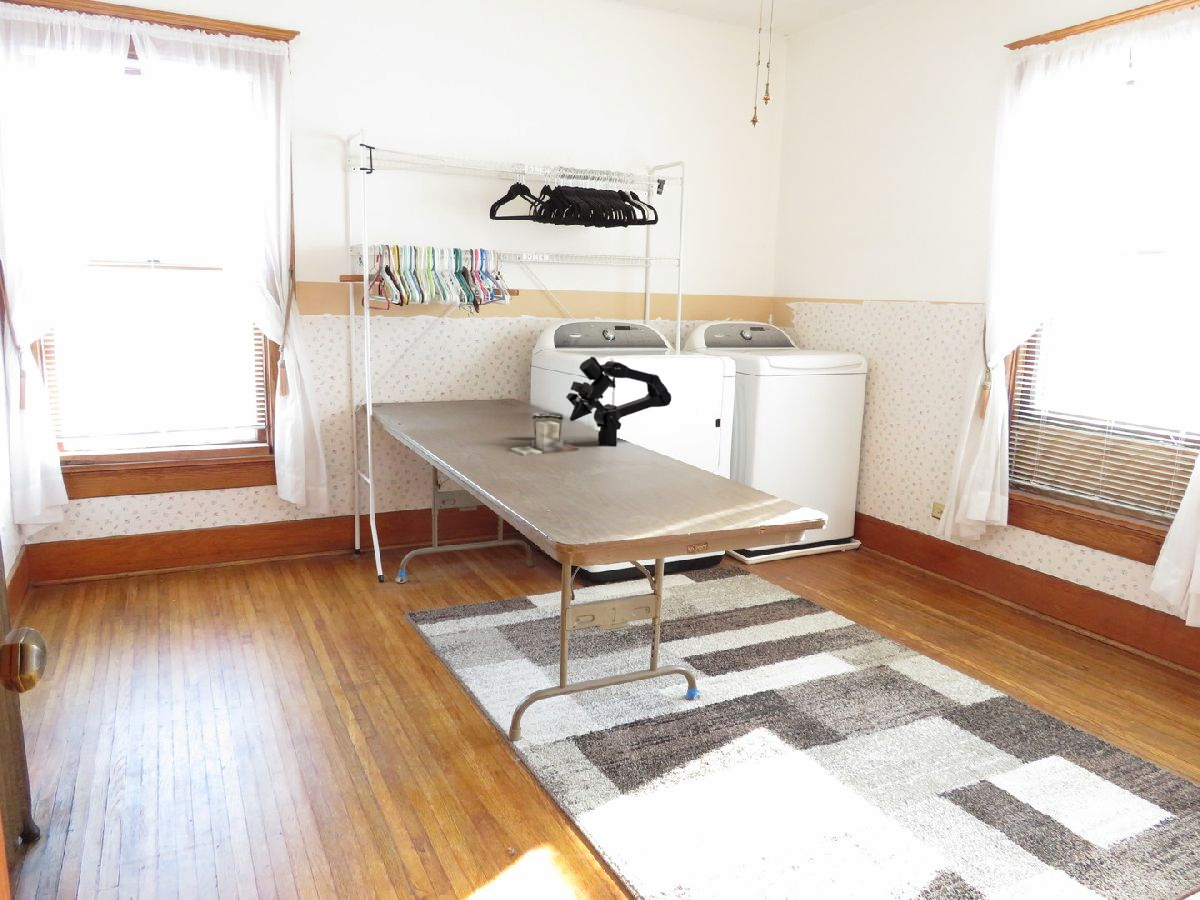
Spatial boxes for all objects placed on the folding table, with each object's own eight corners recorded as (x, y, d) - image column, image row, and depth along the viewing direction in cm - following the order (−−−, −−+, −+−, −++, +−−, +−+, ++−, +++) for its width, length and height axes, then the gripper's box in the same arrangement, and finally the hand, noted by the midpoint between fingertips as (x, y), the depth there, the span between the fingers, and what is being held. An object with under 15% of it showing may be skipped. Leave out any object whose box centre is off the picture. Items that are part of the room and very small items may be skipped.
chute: (564, 445, 320) (564, 436, 320) (578, 450, 312) (578, 441, 311) (511, 450, 309) (511, 441, 308) (524, 455, 300) (524, 445, 300)
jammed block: (550, 445, 315) (551, 421, 313) (558, 448, 310) (559, 423, 308) (536, 446, 312) (536, 422, 310) (544, 449, 307) (544, 424, 305)
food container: (565, 438, 335) (566, 412, 333) (563, 441, 329) (564, 415, 327) (534, 437, 336) (534, 411, 334) (531, 439, 330) (531, 413, 328)
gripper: (571, 371, 321) (544, 402, 318) (598, 376, 306) (570, 409, 302) (588, 391, 327) (562, 422, 323) (616, 397, 312) (589, 429, 308)
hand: (570, 420), depth 314 cm, fingers closed
